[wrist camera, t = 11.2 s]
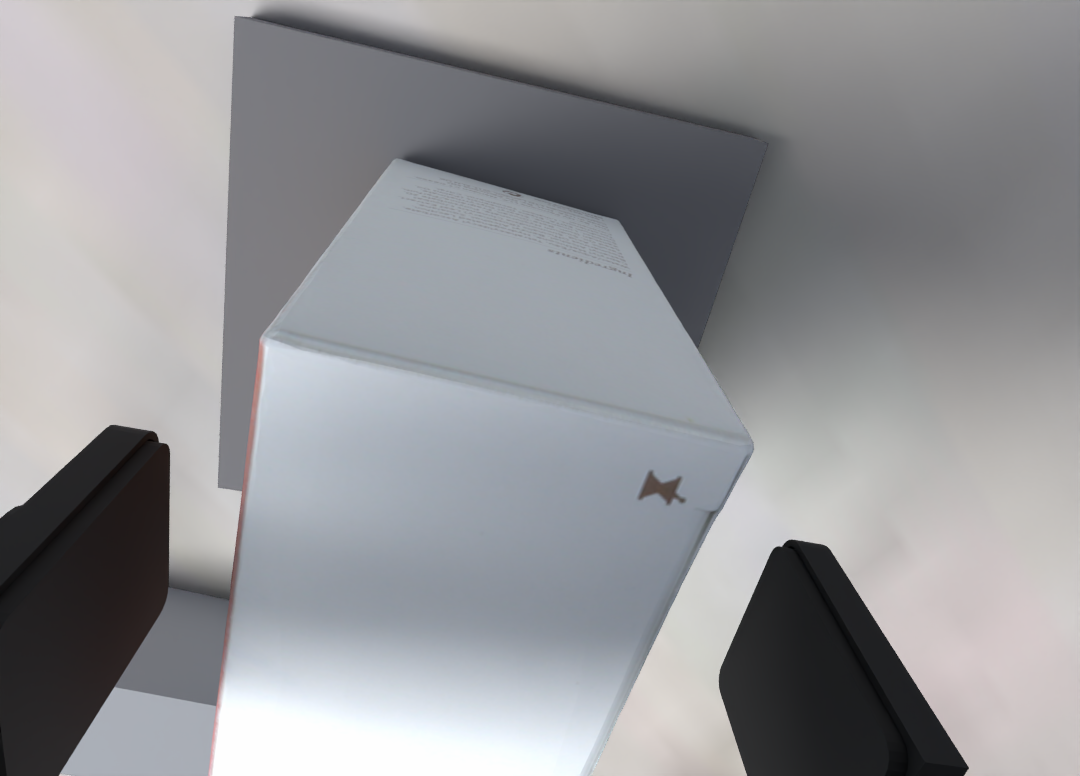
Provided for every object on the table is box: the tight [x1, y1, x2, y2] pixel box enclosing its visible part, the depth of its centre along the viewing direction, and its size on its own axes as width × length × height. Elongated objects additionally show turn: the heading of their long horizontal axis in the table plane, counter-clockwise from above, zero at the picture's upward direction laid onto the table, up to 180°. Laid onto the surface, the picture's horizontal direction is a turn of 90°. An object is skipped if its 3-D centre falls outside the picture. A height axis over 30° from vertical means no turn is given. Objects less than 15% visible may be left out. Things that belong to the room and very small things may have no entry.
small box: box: [208, 159, 754, 776], centre depth 14 cm, size 8×6×10 cm
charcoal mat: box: [218, 16, 768, 491], centre depth 19 cm, size 12×12×1 cm
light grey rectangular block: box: [60, 587, 229, 776], centre depth 22 cm, size 6×4×4 cm, turn 71°
